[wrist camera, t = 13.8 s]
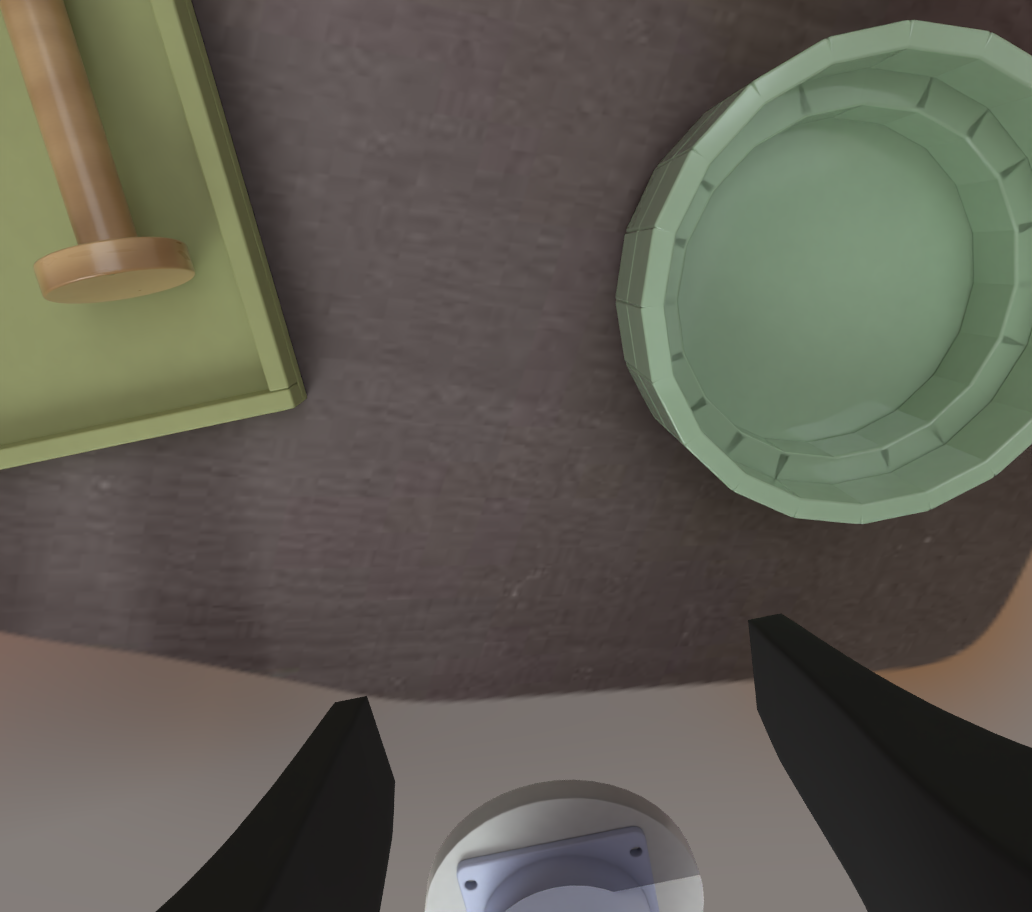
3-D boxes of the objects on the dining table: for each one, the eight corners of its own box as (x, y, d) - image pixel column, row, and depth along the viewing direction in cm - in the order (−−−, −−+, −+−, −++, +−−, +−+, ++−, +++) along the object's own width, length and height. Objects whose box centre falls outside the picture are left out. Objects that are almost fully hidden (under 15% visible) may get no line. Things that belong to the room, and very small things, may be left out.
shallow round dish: (1009, 437, 23) (1114, 473, 19) (646, 512, 23) (678, 562, 19) (1008, 26, 20) (1136, -31, 16) (582, 117, 20) (607, 83, 16)
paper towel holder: (174, 260, 17) (49, -147, 15) (14, 293, 16) (-131, -127, 15) (210, 281, 20) (109, -48, 19) (79, 309, 20) (-33, -29, 18)
